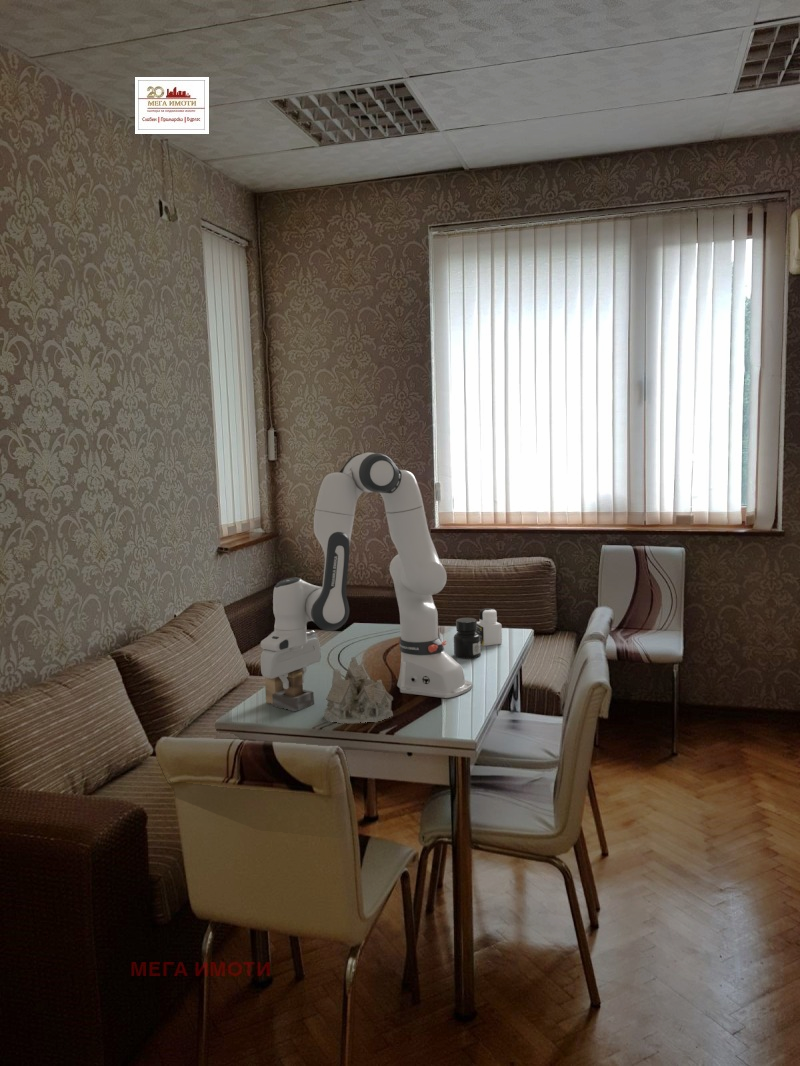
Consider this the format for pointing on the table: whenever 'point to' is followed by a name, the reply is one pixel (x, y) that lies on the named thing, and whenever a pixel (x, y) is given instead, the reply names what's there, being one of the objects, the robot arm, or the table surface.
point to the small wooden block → (295, 683)
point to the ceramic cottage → (357, 697)
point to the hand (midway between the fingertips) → (293, 685)
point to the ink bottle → (466, 639)
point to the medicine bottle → (489, 627)
